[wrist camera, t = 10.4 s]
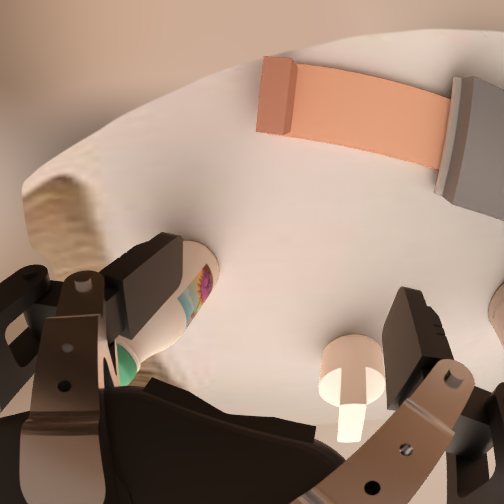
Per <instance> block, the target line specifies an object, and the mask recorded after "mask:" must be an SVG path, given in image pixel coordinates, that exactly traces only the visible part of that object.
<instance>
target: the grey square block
mask: <svg viewBox="0 0 504 504" xmlns="http://www.w3.org/2000/svg"><path fill="white" fill-rule="evenodd" d="M434 193H435V194H437V195H440V196H443V197H444V198H445V199H446V200H448V201H449V202H450V203H451V204H453V205H456V206H460V207H463V208H466V209H469V210H473V211H476V212H479V213H482V214H485V215H488V216H491V217H494V218H497V219H500V220H503V221H504V90H502V89H500V88H498V87H496V86H494V85H492V84H490V83H487V82H485V81H483V80H481V79H479V78H476V77H469V78H465V79H461V78H458V77H453V84H452V94H451V103H450V111H449V118H448V125H447V131H446V137H445V143H444V148H443V154H442V159H441V163H440V168H439V173H438V177H437V182H436V186H435V190H434Z"/></svg>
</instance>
